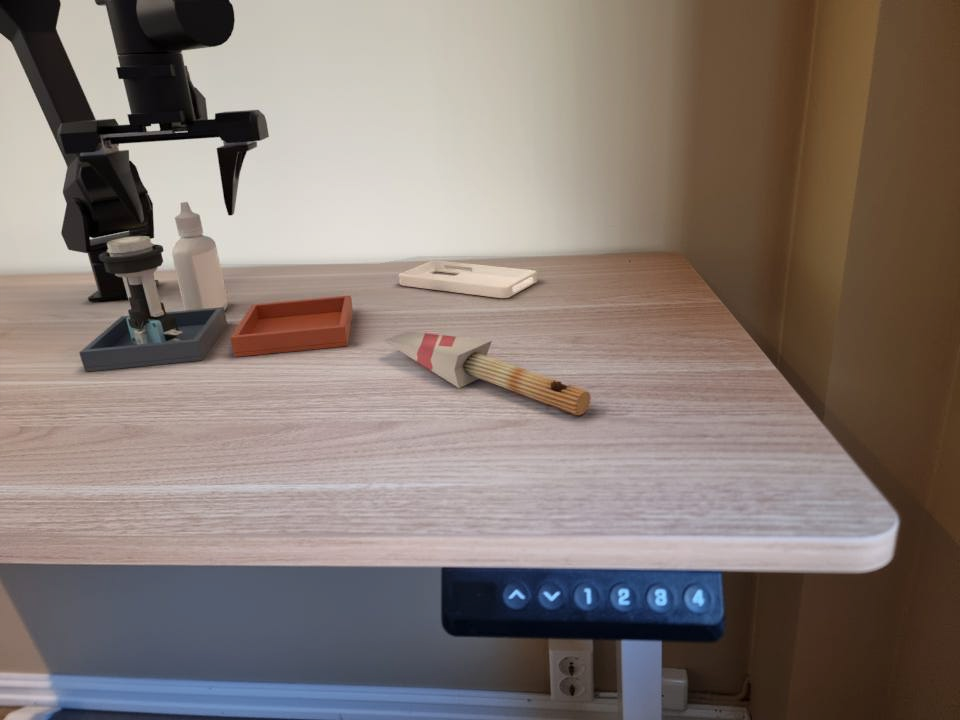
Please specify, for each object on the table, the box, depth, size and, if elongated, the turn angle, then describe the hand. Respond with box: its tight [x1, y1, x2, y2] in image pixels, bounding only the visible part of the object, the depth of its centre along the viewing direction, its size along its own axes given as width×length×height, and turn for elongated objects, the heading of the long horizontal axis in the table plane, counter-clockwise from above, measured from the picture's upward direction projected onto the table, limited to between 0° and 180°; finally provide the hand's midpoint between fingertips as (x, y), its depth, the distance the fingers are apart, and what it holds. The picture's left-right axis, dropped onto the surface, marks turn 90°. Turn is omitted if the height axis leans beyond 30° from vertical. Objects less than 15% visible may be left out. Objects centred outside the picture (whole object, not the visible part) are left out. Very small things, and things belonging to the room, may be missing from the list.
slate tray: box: [78, 307, 228, 373], centre depth 65 cm, size 10×10×2 cm
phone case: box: [398, 260, 538, 299], centre depth 79 cm, size 7×1×15 cm
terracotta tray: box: [230, 294, 354, 358], centre depth 67 cm, size 10×10×2 cm
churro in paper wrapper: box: [383, 330, 592, 416], centre depth 53 cm, size 4×3×20 cm
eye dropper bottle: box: [171, 201, 229, 311], centre depth 73 cm, size 4×6×12 cm
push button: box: [99, 236, 182, 345], centre depth 63 cm, size 7×5×10 cm
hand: (186, 218), depth 71 cm, fingers open, 9 cm apart
